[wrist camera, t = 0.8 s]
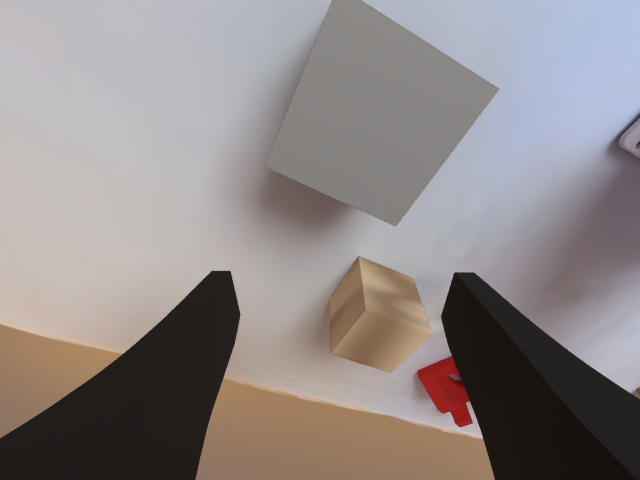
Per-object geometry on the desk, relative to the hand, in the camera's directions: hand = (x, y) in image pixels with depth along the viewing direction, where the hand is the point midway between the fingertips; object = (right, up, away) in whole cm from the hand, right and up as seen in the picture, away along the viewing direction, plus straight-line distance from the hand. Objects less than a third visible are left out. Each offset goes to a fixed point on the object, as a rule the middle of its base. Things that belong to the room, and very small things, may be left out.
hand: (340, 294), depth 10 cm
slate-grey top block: (+1, +7, +3) cm, 8 cm away
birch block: (+3, -2, +13) cm, 13 cm away
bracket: (+12, -11, +19) cm, 25 cm away
